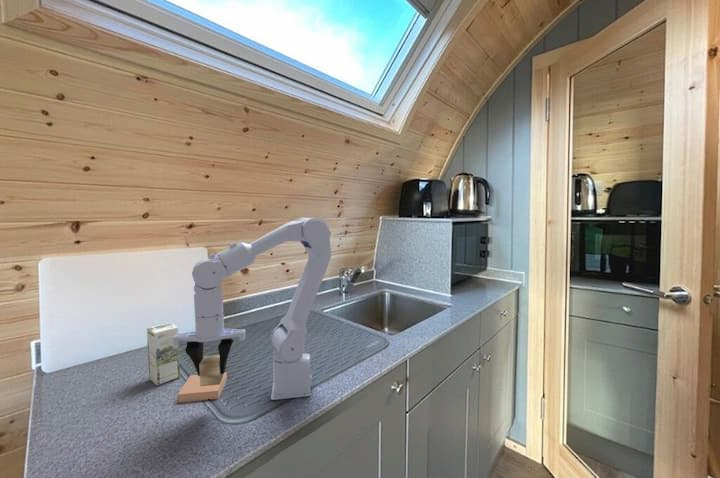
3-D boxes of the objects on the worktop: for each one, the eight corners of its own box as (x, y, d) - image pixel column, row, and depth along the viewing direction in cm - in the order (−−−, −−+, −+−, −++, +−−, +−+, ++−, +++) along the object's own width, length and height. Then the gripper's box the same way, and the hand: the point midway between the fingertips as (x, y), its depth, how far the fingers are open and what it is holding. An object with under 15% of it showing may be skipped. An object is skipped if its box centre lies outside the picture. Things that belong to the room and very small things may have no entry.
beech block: (223, 375, 75) (222, 354, 75) (219, 384, 71) (218, 362, 71) (205, 377, 74) (204, 356, 74) (200, 386, 70) (199, 364, 70)
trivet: (227, 381, 87) (226, 372, 87) (218, 400, 78) (218, 390, 78) (191, 384, 85) (190, 375, 85) (178, 404, 77) (177, 394, 76)
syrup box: (172, 371, 92) (169, 321, 90) (181, 378, 88) (178, 326, 86) (149, 379, 87) (145, 327, 86) (157, 387, 83) (154, 332, 82)
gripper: (246, 306, 77) (248, 361, 78) (180, 310, 74) (183, 367, 75) (241, 316, 70) (243, 376, 71) (168, 320, 67) (171, 383, 68)
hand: (212, 372), depth 73 cm, fingers closed on beech block, 4 cm apart
